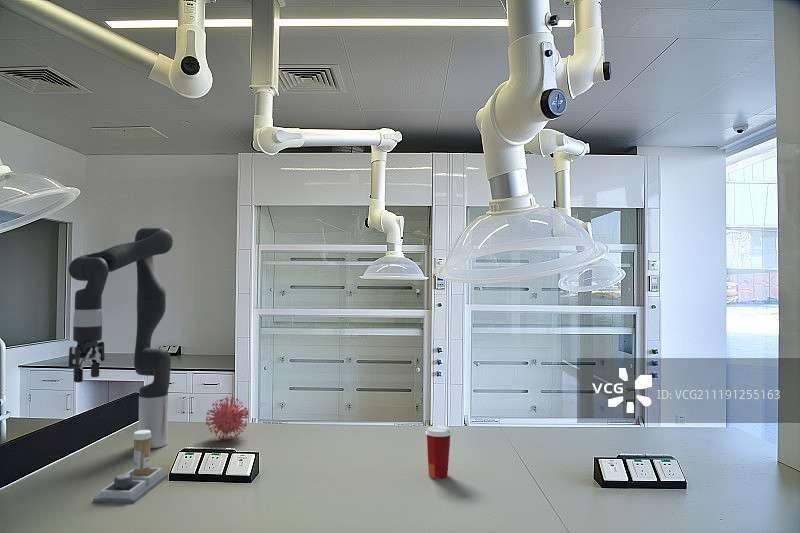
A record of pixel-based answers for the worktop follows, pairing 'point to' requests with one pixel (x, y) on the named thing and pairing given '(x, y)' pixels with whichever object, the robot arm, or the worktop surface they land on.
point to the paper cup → (438, 451)
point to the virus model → (227, 418)
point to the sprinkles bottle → (142, 453)
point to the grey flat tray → (130, 487)
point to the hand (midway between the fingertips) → (86, 379)
